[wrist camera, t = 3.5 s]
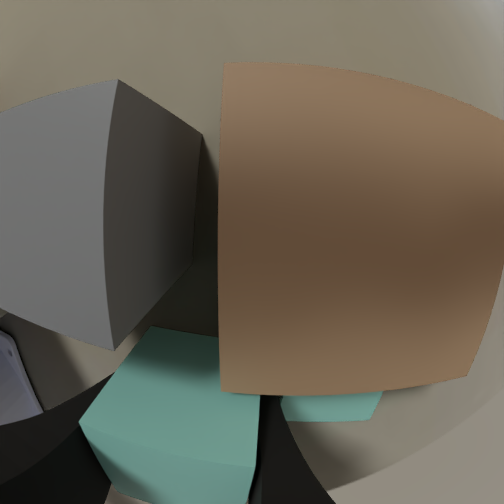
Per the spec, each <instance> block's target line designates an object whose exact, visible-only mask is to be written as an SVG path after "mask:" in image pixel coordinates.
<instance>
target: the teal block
mask: <svg viewBox="0 0 504 504" xmlns="http://www.w3.org/2000/svg"><path fill="white" fill-rule="evenodd" d="M259 405H260V395H259V394H243V393H231V392H221V382H220V357H219V337H212V336H206V335H199V334H193V333H187V332H181V331H176V330H170V329H165V328H160V327H155V326H150V328H149V329H148V330H147V331H146V333H145V334H144V335H143V336H142V338H141V339H140V340H139V342H138V343H137V344H136V345H135V347H134V348H133V349H132V351H131V352H130V353H129V355H128V356H127V357H126V358H125V360H124V361H123V362H122V364H121V365H120V366H119V368H118V369H117V370H116V372H115V373H114V374H113V376H112V377H111V378H110V380H109V381H108V382H107V384H106V385H105V386H104V388H103V389H102V390H101V392H100V393H99V394H98V396H97V397H96V398H95V400H94V401H93V403H92V404H91V405H90V407H89V408H88V409H87V411H86V412H85V414H84V415H83V416H82V418H81V419H80V420H79V424H80V426H81V428H82V430H83V432H84V434H85V436H86V438H87V440H88V442H89V444H90V446H91V448H92V450H93V452H94V453H95V455H96V457H97V459H98V461H99V462H100V464H101V466H102V468H103V469H104V471H105V473H106V474H107V476H108V478H109V479H110V481H111V482H112V484H113V485H114V487H115V488H116V490H117V491H118V492H120V493H122V494H125V495H128V496H130V497H133V498H136V499H139V500H142V501H145V502H149V503H152V504H246V501H247V498H248V494H249V490H250V486H251V482H252V479H253V475H254V471H255V465H256V451H257V436H258V421H259Z"/></svg>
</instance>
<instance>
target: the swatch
mask: <svg viewBox="0 0 504 504" xmlns="http://www.w3.org/2000/svg"><path fill="white" fill-rule="evenodd" d="M382 393H383V391H378V392H368V393H356V394H341V395H313V396H287V395H281V399H280V404H281V408H282V411H283V414H284V417H285V419H286V421H301V422H338V421H359V420H369V419H370V418H371V416H372V414H373V412H374V410H375V408H376V406H377V404H378V402H379V400H380V398H381V396H382Z"/></svg>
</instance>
